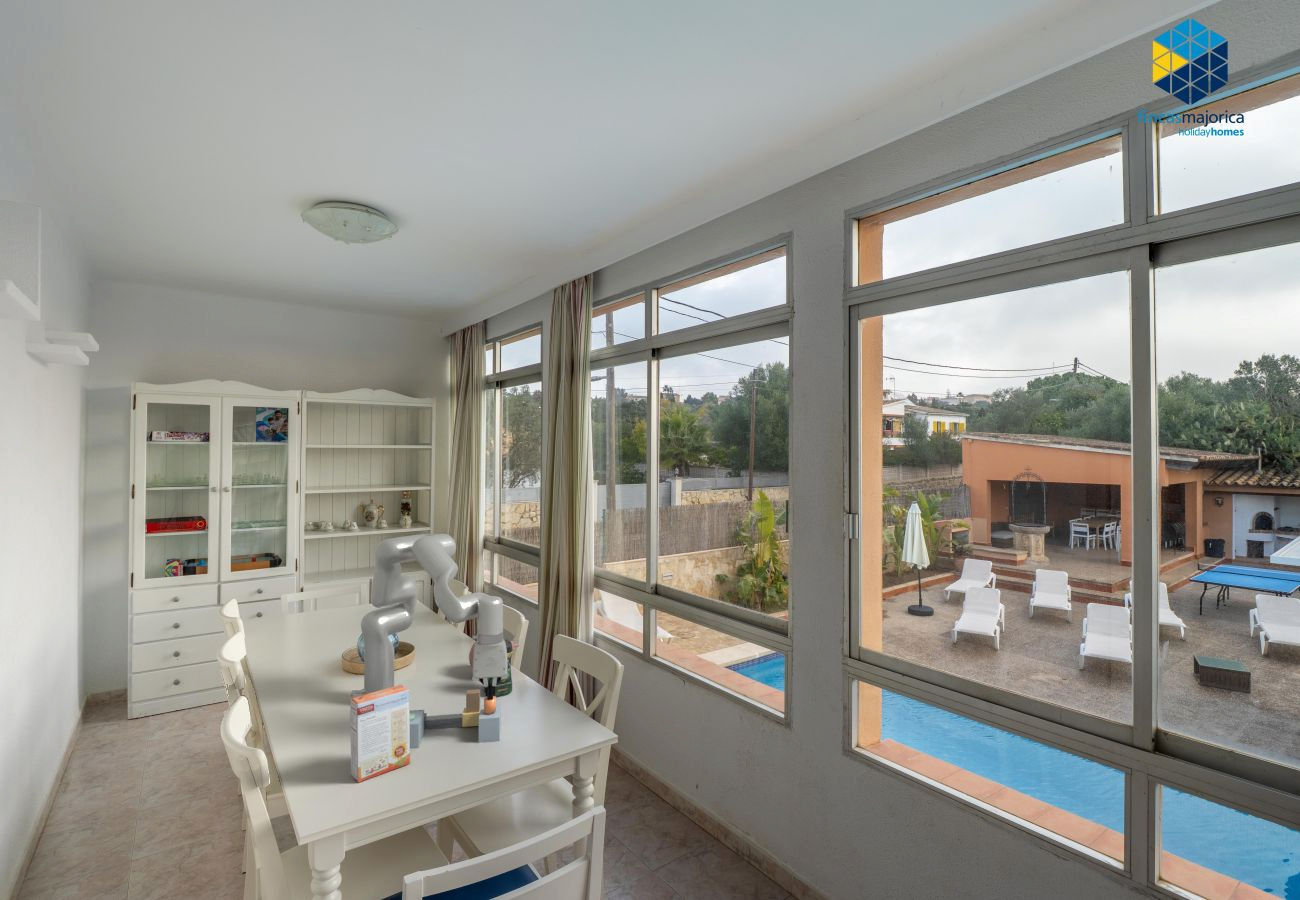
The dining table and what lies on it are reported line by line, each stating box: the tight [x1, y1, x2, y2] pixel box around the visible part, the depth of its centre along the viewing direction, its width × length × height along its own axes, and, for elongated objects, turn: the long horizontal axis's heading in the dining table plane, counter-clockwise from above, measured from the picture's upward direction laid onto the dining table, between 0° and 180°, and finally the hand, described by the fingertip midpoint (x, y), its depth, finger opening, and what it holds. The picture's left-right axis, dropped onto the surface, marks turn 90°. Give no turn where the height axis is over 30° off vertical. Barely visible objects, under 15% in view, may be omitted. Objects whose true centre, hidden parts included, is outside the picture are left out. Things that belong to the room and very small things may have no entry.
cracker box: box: [349, 684, 411, 783], centre depth 168 cm, size 14×6×21 cm, turn 134°
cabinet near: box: [409, 709, 425, 749], centre depth 185 cm, size 7×10×8 cm
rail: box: [424, 712, 470, 731], centre depth 195 cm, size 20×3×4 cm, turn 101°
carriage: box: [461, 689, 481, 728], centre depth 196 cm, size 6×5×10 cm
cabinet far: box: [478, 703, 502, 743], centre depth 190 cm, size 6×10×7 cm, turn 11°
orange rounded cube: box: [483, 696, 497, 714], centre depth 189 cm, size 4×4×4 cm
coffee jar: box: [483, 639, 514, 698], centre depth 221 cm, size 10×8×19 cm
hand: (490, 698), depth 188 cm, fingers closed
